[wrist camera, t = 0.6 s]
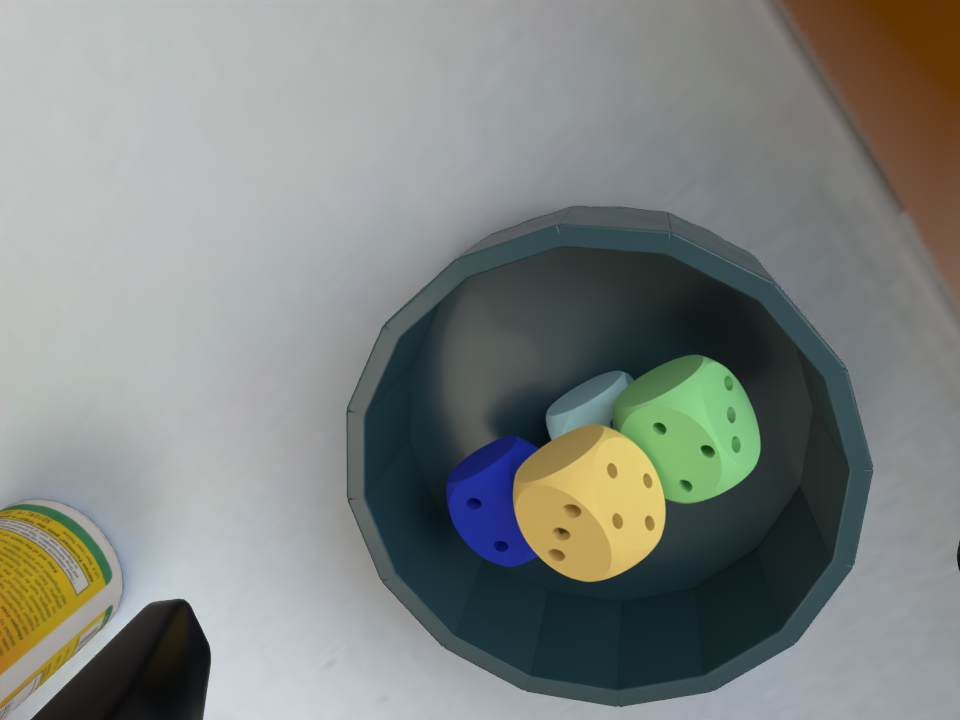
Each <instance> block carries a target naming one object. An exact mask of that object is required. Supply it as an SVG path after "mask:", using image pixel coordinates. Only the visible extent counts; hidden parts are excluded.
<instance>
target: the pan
mask: <svg viewBox="0 0 960 720" xmlns="http://www.w3.org/2000/svg"><path fill="white" fill-rule="evenodd" d="M688 355H701V356H704V357H707V358H710V359H712V360H714V361H716V362H718V363H720V364H721V365H723V366H725V367H726V368H727V369H728V370H729V371H730V372H731V373H732V374H733V375H734V376H735V377H736V379H737V380H738V381H739V383H740V384H741V386H742V387H743V389H744V391H745V393H746V395H747V397H748V399H749V401H750V403H751V405H752V408H753V411H754V413H755V416H756V420H757V424H758V428H759V434H760V455H759V458H758V461H757V464H756V466H755V467H754V469H753V470H752V471H751V472H750V474H749V475H748V476H747V477H745V478H744V479H743V480H742V481H741V482H739V483H738V484H737V485H735V486H734V487H732V488H730V489H729V490H727V491H725V492H723V493H721V494H719V495H717V496H715V497H712V498H710V499H707V500H704V501H700V502H696V503H688V504H682V503H676V502H673V501H669V500H667V499H665V512H666V513H665V524H664V529H663V532H662V536H661V538H660V540H659V542H658V544H657V545H656V546H655V548H654V549H653V550H652V551H651V552H650V553H649V554H648V555H647V556H646V557H645V558H644V559H642V560H641V561H640V562H639V563H637V564H636V565H634V566H633V567H631V568H630V569H628V570H626V571H624V572H622V573H620V574H618V575H616V576H613V577H611V578H608V579H605V580H601V581H595V582H585V581H580V580H576V579H573V578H570V577H567V576H565V575H563V574H561V573H559V572H558V571H556V570H555V569H553V568H552V567H550V566H549V565H548V564H546V563H545V562H544V561H543V560H542V559H541V558H540V557H539V556H537V557H536V558H534V559H532V560H530V561H528V562H526V563H523V564H520V565H517V566H511V567H506V566H502V565H499V564H496V563H493V562H491V561H488V560H487V559H485V558H483V557H482V556H480V555H479V554H477V553H476V552H475V551H474V550H473V549H472V548H470V547H469V545H468V544H467V543H466V542H465V541H464V540H463V538H462V537H461V536H460V534H459V533H458V531H457V529H456V527H455V525H454V523H453V521H452V519H451V516H450V513H449V509H448V504H447V494H446V487H447V479H448V476H449V474H450V473H451V472H452V470H453V469H454V468H455V467H456V466H457V465H458V464H459V463H461V462H462V461H463V460H464V459H465V458H467V457H468V456H470V455H471V454H472V453H474V452H475V451H477V450H479V449H480V448H482V447H484V446H485V445H487V444H489V443H491V442H493V441H495V440H498V439H500V438H503V437H507V436H516V437H519V438H521V439H524V440H526V441H528V442H530V443H531V444H533V445H535V446H536V447H537V448H539V449H540V448H542V447H543V446H544V445H546V444H547V443H549V442H551V441H552V440H551V437H550V435H549V432H548V428H547V424H546V413H547V410H548V409H549V407H550V406H551V405H552V404H553V403H554V402H556V401H557V400H558V399H559V398H560V397H562V396H563V395H565V394H566V393H567V392H569V391H570V390H572V389H574V388H575V387H577V386H579V385H580V384H582V383H584V382H586V381H588V380H590V379H592V378H594V377H597V376H599V375H601V374H604V373H607V372H611V371H622V372H625V373H628V374H629V375H630V376H631V377H632V378H633V379H634V381H635V380H636V379H638V378H639V377H641V376H642V375H644V374H646V373H647V372H649V371H651V370H653V369H654V368H656V367H658V366H660V365H662V364H665V363H667V362H669V361H672V360H674V359H677V358H680V357H684V356H688ZM872 468H873V465H872V461H871V457H870V453H869V450H868V446H867V442H866V438H865V435H864V431H863V427H862V423H861V419H860V416H859V412H858V408H857V404H856V401H855V397H854V393H853V389H852V385H851V382H850V378H849V374H848V370H847V369H846V368H845V365H844V364H843V362H842V361H841V360H840V359H839V358H838V356H837V355H836V354H835V353H834V351H833V350H832V349H831V348H830V347H829V345H828V344H827V343H826V342H825V340H824V339H823V338H822V337H821V335H820V334H819V333H818V332H817V331H816V329H815V328H814V327H813V326H812V324H811V323H810V322H809V321H808V320H807V318H806V317H805V316H804V315H803V314H802V313H801V311H800V310H799V309H798V308H797V307H796V305H795V304H794V303H793V302H792V301H791V299H790V298H789V297H788V296H787V295H786V293H785V292H784V291H783V290H782V289H781V287H780V286H779V285H778V284H777V283H776V282H775V280H774V279H773V278H772V277H771V276H770V274H769V273H768V272H767V271H766V270H765V268H764V267H763V266H762V265H761V264H760V263H759V261H758V260H757V259H756V258H755V257H754V256H753V255H751V253H750V252H748V251H746V250H744V249H742V248H740V247H738V246H736V245H734V244H732V243H729V242H728V241H726V240H724V239H722V238H721V237H719V236H717V235H716V234H714V233H712V232H710V231H709V230H707V229H704V228H702V227H699V226H697V225H695V224H692V223H690V222H687V221H685V220H683V219H681V218H679V217H677V216H675V215H673V214H671V213H667V212H664V211H649V210H642V209H634V208H626V207H586V206H574V207H568V208H566V209H563V210H560V211H557V212H554V213H551V214H548V215H544V216H540V217H536V218H533V219H531V220H528V221H526V222H523V223H521V224H519V225H516V226H513V227H510V228H507V229H505V230H502V231H499V232H496V233H493V234H491V235H489V236H487V237H486V238H484V239H483V240H481V241H480V242H479V243H477V244H476V245H474V246H473V247H472V248H470V249H469V250H467V251H466V252H465V253H463V254H462V255H460V256H459V257H458V258H456V259H455V260H454V261H453V262H452V263H450V264H449V265H448V266H447V267H446V268H445V269H444V270H443V271H442V272H441V273H439V274H438V275H437V276H436V277H435V278H434V279H433V280H432V281H431V282H430V283H428V284H427V285H426V286H425V287H424V288H423V289H422V290H421V291H420V292H419V293H417V294H416V295H415V296H414V297H413V298H412V299H411V300H410V301H409V302H408V303H406V304H405V305H404V306H403V307H402V308H401V309H400V310H399V311H398V312H397V313H395V314H394V315H393V316H392V317H391V318H390V319H389V320H388V321H387V322H386V323H385V324H384V326H382V329H381V331H380V333H379V336H378V338H377V340H376V343H375V345H374V347H373V349H372V352H371V354H370V356H369V359H368V361H367V363H366V366H365V368H364V370H363V372H362V375H361V377H360V379H359V382H358V384H357V386H356V388H355V391H354V393H353V395H352V398H351V400H350V402H349V405H348V407H347V498H348V502H349V505H350V507H351V509H352V512H353V514H354V517H355V519H356V521H357V524H358V526H359V529H360V531H361V533H362V536H363V538H364V541H365V543H366V546H367V548H368V550H369V553H370V555H371V558H372V560H373V562H374V565H375V567H376V570H377V572H378V574H379V577H380V579H381V580H382V582H383V583H384V585H385V586H386V587H387V588H388V589H389V590H390V591H391V592H392V593H393V594H394V595H395V596H396V597H397V598H398V600H399V601H400V602H401V603H402V604H403V605H404V606H405V607H406V608H407V609H408V610H409V611H410V612H411V614H412V615H413V616H414V617H415V618H416V619H417V620H418V621H419V622H420V623H421V624H422V625H423V626H424V627H425V629H426V630H427V631H428V632H429V633H430V634H431V635H432V636H433V637H434V638H435V639H436V640H437V641H438V642H439V644H440V645H441V646H444V648H445V649H447V650H449V651H451V652H452V653H454V654H456V655H458V656H460V657H462V658H464V659H466V660H467V661H469V662H471V663H473V664H475V665H477V666H479V667H481V668H482V669H484V670H486V671H488V672H490V673H492V674H494V675H496V676H497V677H499V678H501V679H503V680H505V681H507V682H509V683H511V684H512V685H514V686H516V687H518V688H520V689H522V690H526V691H527V692H533V693H538V694H544V695H550V696H556V697H562V698H568V699H574V700H580V701H585V702H591V703H597V704H603V705H609V706H615V707H617V706H619V707H622V706H628V705H634V704H641V703H647V702H653V701H659V700H665V699H671V698H677V697H683V696H689V695H695V694H701V693H707V692H711V691H712V690H713V691H714V690H716V689H718V688H720V687H722V686H723V685H725V684H727V683H729V682H730V681H732V680H734V679H735V678H737V677H739V676H741V675H742V674H744V673H746V672H748V671H749V670H751V669H753V668H755V667H756V666H758V665H760V664H761V663H763V662H765V661H767V660H768V659H770V658H772V657H774V656H775V655H777V654H779V653H780V652H782V651H784V650H786V649H787V648H789V647H791V646H793V645H794V644H795V643H796V642H797V641H798V640H799V639H800V637H801V636H802V635H803V633H804V632H805V631H806V629H807V628H808V627H809V625H810V624H811V623H812V621H813V620H814V619H815V617H816V616H817V615H818V613H819V612H820V611H821V609H822V608H823V607H824V605H825V604H826V603H827V601H828V600H829V599H830V597H831V596H832V595H833V593H834V592H835V591H836V589H837V588H838V587H839V585H840V584H841V583H842V581H843V580H844V579H845V577H846V576H847V575H848V573H849V572H850V571H851V569H852V567H853V565H854V563H855V558H856V553H857V548H858V543H859V538H860V533H861V528H862V523H863V518H864V513H865V508H866V503H867V498H868V494H869V489H870V484H871V479H872V474H873V470H872Z"/></svg>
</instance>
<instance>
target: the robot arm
mask: <svg viewBox="0 0 960 720" xmlns="http://www.w3.org/2000/svg"><path fill="white" fill-rule="evenodd" d="M957 562H958V567H959V570H960V542H959V547H958V552H957ZM210 666H211V652H210V647H209V643H208V641H207V639H206V637H205V635H204V633H203V630H202V628H201V626H200V624H199V622H198V620H197V618H196V616H195V614H194V612H193V610H192V608H191V606H190V604H189V603H188V602H187V601H186V600H184V599H173V600H165V601H157V602H153V603H150V604H148V605H147V606H146V607H145V608H143V609H142V610H141V611H140V612H139V613H138V614H137V615H136V616H135V617H134V618H133V619H132V620H131V621H130V622H129V623H128V624H127V625H126V626H125V627H124V628H123V629H122V630H121V631H120V632H119V633H118V634H117V635H116V636H115V637H114V638H113V639H112V640H111V641H110V642H109V643H108V644H107V645H106V646H105V647H104V648H103V649H102V650H101V651H100V652H99V653H98V654H97V655H96V656H95V657H94V658H93V659H92V660H91V661H90V662H89V663H88V664H87V665H86V666H85V667H84V668H83V669H82V670H81V671H79V672H78V673H77V674H76V675H75V676H74V677H73V678H72V679H71V680H70V681H69V682H68V683H67V684H66V685H65V686H64V687H63V688H62V689H61V690H60V691H59V692H58V693H57V694H56V695H55V696H54V697H53V698H52V699H51V700H50V701H49V702H48V703H47V704H46V705H45V706H44V707H43V708H42V709H41V710H40V711H39V712H38V713H37V714H36V715H35V716H34V717H33V718H32V719H31V720H203V715H204V708H205V701H206V694H207V687H208V680H209V673H210Z"/></svg>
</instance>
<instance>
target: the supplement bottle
mask: <svg viewBox="0 0 960 720" xmlns="http://www.w3.org/2000/svg"><path fill="white" fill-rule="evenodd" d="M122 590H123V579H122V571H121V567H120V563H119V560H118V558H117V555H116V553H115V551H114V549H113V547H112V546H111V545H110V543H109V542H108V540H107V539H106V538H105V536H104V534H103V533H102V532H101V530H100V529H99V528H98V527H97V526H96V525H95V524H94V523H93V522H92V521H91V520H90V519H88V518H87V517H86V516H85V515H84V514H82V513H80V512H79V511H77V510H75V509H74V508H72V507H69V506H67V505H64V504H61V503H58V502H54V501H49V500H39V499H30V500H26V501H22V502H18V503H15V504H13V505H10V506H8V507H7V508H5V509H3V510H1V511H0V720H3V719H4V718H6V717H7V716H8V715H9V714H10V713H11V712H12V711H13V710H14V709H15V708H17V707H18V706H19V705H20V704H21V703H22V702H23V701H24V700H25V699H26V698H27V697H28V696H29V695H31V694H32V693H33V692H34V691H35V690H36V689H37V688H38V687H39V686H41V685H42V684H43V683H44V682H45V681H46V680H47V679H48V678H49V677H50V676H52V675H53V674H54V673H55V672H56V671H57V670H58V669H59V668H60V667H61V666H62V665H63V664H65V663H66V662H67V661H68V660H69V659H70V658H72V657H73V656H74V655H75V654H76V653H77V652H78V651H79V650H80V649H81V648H82V647H83V646H84V645H85V644H86V643H87V642H88V641H89V640H90V639H92V638H93V637H94V636H95V635H96V634H97V633H98V632H99V631H100V630H101V629H102V628H103V627H104V626H105V625H106V624H107V623H108V622H109V621H110V620H111V618H112V617H113V616H114V614H115V612H116V611H117V609H118V606H119V603H120V600H121V596H122Z"/></svg>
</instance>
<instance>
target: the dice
mask: <svg viewBox="0 0 960 720" xmlns="http://www.w3.org/2000/svg"><path fill="white" fill-rule="evenodd" d="M546 424H547V428H548V432H549V435H550V437H551V440H552V441H551V442H549V443H547V444H546V445H544V446H543V447H542V448H540V449H539V448H537V447H536V446H535V445H533V444H531V443H530V442H528V441H526V440H524V439H521V438H519V437H516V436H507V437H503V438H500V439H498V440H495V441H493V442H491V443H489V444H487V445H485V446H484V447H482V448H480V449H479V450H477V451H475V452H474V453H472V454H471V455H470V456H468V457H467V458H465V459H464V460H463V461H462V462H461V463H459V464H458V465H457V466H456V467H455V468H454V469H453V470H452V472H451V473H450V474H449V476H448V479H447V487H446V494H447V504H448V509H449V513H450V516H451V519H452V521H453V523H454V525H455V527H456V529H457V531H458V533H459V534H460V536H461V537H462V538H463V540H464V541H465V542H466V543H467V544H468V545H469V547H470V548H472V549H473V550H474V551H475V552H476V553H477V554H479V555H480V556H482V557H483V558H485V559H487V560H488V561H491V562H493V563H496V564H499V565H502V566H506V567H511V566H517V565H520V564H523V563H526V562H528V561H530V560H532V559H534V558H536V557H537V556H539V557H540V558H541V559H542V560H543V561H544V562H545V563H546V564H548V565H549V566H550V567H552V568H553V569H555V570H556V571H558V572H559V573H561V574H563V575H565V576H567V577H570V578H573V579H576V580H580V581H585V582H595V581H601V580H605V579H608V578H611V577H613V576H616V575H618V574H620V573H622V572H624V571H626V570H628V569H630V568H631V567H633V566H634V565H636V564H637V563H639V562H640V561H641V560H642V559H644V558H645V557H646V556H647V555H648V554H649V553H650V552H651V551H652V550H653V549H654V548H655V546H656V545H657V544H658V542H659V540H660V538H661V536H662V532H663V529H664V524H665V513H666V512H665V499H667V500H669V501H673V502H676V503H682V504H688V503H696V502H700V501H704V500H707V499H710V498H712V497H715V496H717V495H719V494H721V493H723V492H725V491H727V490H729V489H730V488H732V487H734V486H735V485H737V484H738V483H739V482H741V481H742V480H743V479H744V478H745V477H747V476H748V475H749V474H750V472H751V471H752V470H753V469H754V467H755V466H756V464H757V461H758V458H759V455H760V434H759V428H758V424H757V420H756V416H755V413H754V411H753V408H752V405H751V403H750V401H749V399H748V397H747V395H746V393H745V391H744V389H743V387H742V386H741V384H740V383H739V381H738V380H737V379H736V377H735V376H734V375H733V374H732V373H731V372H730V371H729V370H728V369H727V368H726V367H725V366H723V365H721V364H720V363H718V362H716V361H714V360H712V359H710V358H707V357H704V356H701V355H688V356H684V357H680V358H677V359H674V360H672V361H669V362H667V363H665V364H662V365H660V366H658V367H656V368H654V369H653V370H651V371H649V372H647V373H646V374H644V375H642V376H641V377H639V378H638V379H636V380H635V381H634V379H633V378H632V377H631V376H630V375H629V374H628V373H625V372H622V371H611V372H607V373H604V374H601V375H599V376H597V377H594V378H592V379H590V380H588V381H586V382H584V383H582V384H580V385H579V386H577V387H575V388H574V389H572V390H570V391H569V392H567V393H566V394H565V395H563V396H562V397H560V398H559V399H558V400H557V401H556V402H554V403H553V404H552V405H551V406H550V407H549V409H548V410H547V413H546Z"/></svg>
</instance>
